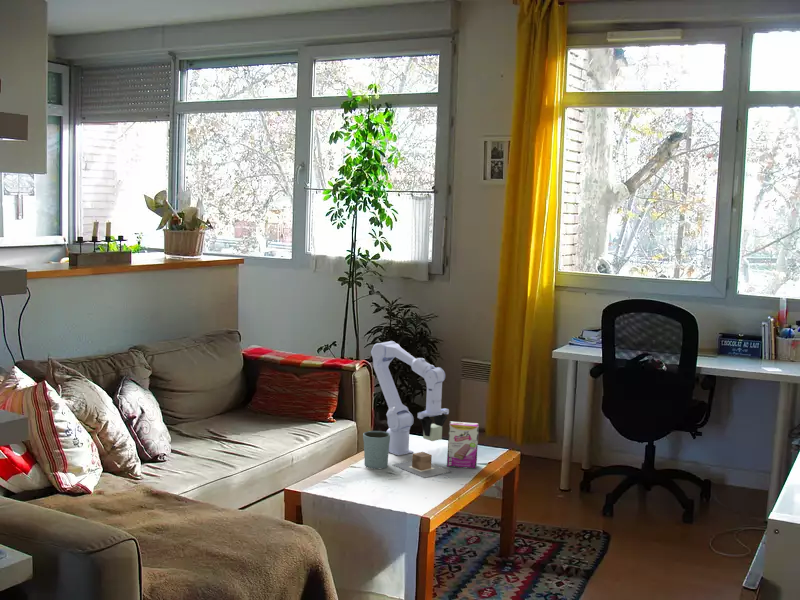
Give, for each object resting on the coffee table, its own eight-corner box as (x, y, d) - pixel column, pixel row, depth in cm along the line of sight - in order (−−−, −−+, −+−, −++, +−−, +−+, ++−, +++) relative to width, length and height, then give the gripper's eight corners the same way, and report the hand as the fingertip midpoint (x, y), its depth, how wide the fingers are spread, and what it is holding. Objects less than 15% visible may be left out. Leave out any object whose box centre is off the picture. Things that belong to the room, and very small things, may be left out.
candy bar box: (446, 467, 318) (448, 424, 317) (447, 463, 323) (449, 420, 322) (476, 469, 317) (478, 426, 316) (476, 465, 322) (478, 422, 321)
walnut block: (411, 467, 315) (412, 453, 315) (422, 464, 319) (422, 451, 318) (420, 470, 312) (421, 457, 311) (431, 468, 315) (431, 455, 314)
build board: (392, 465, 318) (392, 464, 318) (418, 459, 326) (418, 458, 326) (424, 478, 304) (424, 477, 304) (450, 471, 313) (451, 470, 313)
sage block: (423, 438, 326) (423, 425, 325) (432, 436, 329) (433, 423, 329) (432, 441, 322) (432, 428, 322) (441, 439, 325) (442, 426, 325)
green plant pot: (380, 471, 310) (381, 439, 309) (356, 466, 315) (357, 434, 314) (394, 464, 319) (395, 433, 318) (371, 459, 324) (372, 428, 323)
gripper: (426, 404, 316) (425, 439, 318) (454, 399, 326) (453, 434, 327) (414, 400, 322) (412, 435, 323) (442, 396, 331) (440, 430, 333)
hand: (432, 434), depth 326 cm, fingers closed on sage block, 5 cm apart
